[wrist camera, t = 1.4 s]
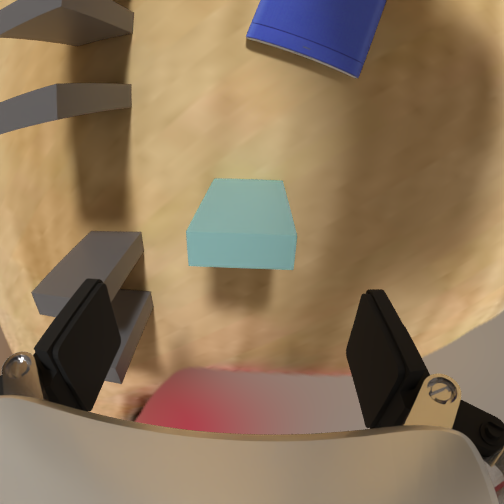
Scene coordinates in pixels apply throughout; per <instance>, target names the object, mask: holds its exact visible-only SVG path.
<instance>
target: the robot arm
mask: <svg viewBox="0 0 504 504" xmlns="http://www.w3.org/2000/svg"><path fill="white" fill-rule="evenodd" d="M120 345H121V336H120V333H119V330H118V326H117V323H116V319H115V316H114V312H113V308H112V305H111V301H110V297H109V293H108V289H107V286H106V284H104V283H103V282H102V280H100V279H90V278H88V279H86V280H85V281H84V282H83V283H82V284H81V286H80V287H79V288H78V289H77V291H76V292H75V293H74V295H73V296H72V297H71V298H70V300H69V301H68V302H67V303H66V305H65V306H64V307H63V309H62V310H61V311H60V313H59V314H58V315H57V317H56V318H55V319H54V321H53V322H52V323H51V325H50V326H49V328H48V329H47V330H46V332H45V333H44V335H43V336H42V337H41V339H40V340H39V342H38V343H37V344H36V346H35V347H34V350H35V354H34V355H32V354H31V353H28V352H18V353H15V354H13V355H11V356H10V357H9V358H7V360H6V361H5V362H4V364H3V366H2V375H1V376H0V504H504V423H503V422H502V421H501V420H500V419H498V418H497V417H495V416H493V415H491V414H489V413H486V412H485V411H483V410H481V409H479V408H477V407H475V406H473V405H471V404H469V403H467V402H464V401H463V400H461V390H460V387H459V385H458V384H457V382H456V381H455V380H453V379H452V378H451V377H449V376H447V375H443V374H433V375H430V374H429V372H428V370H427V368H426V366H425V364H424V362H423V360H422V358H421V356H420V354H419V352H418V350H417V348H416V346H415V344H414V342H413V340H412V339H411V337H410V335H409V333H408V331H407V329H406V327H405V326H404V325H403V324H402V322H401V320H400V318H399V316H398V314H397V313H396V311H395V309H394V307H393V306H392V304H391V302H390V300H389V299H388V297H387V295H386V293H385V292H384V290H367V292H366V294H362V296H361V299H360V303H359V306H358V310H357V314H356V317H355V321H354V325H353V328H352V331H351V335H350V338H349V342H348V345H347V349H346V356H347V360H348V363H349V367H350V370H351V374H352V377H353V381H354V384H355V388H356V392H357V395H358V399H359V403H360V406H361V410H362V414H363V418H364V422H365V425H366V427H367V428H370V429H365V430H355V431H345V432H332V433H316V434H291V435H257V434H256V435H255V434H231V433H215V432H204V431H193V430H184V429H176V428H169V427H162V426H155V425H149V424H142V423H137V422H132V421H127V420H122V419H117V418H112V417H108V416H103V415H99V414H95V413H91V412H88V411H91V410H92V408H93V406H94V404H95V401H96V399H97V397H98V394H99V392H100V390H101V387H102V385H103V383H104V380H105V378H106V376H107V374H108V371H109V369H110V367H111V365H112V363H113V360H114V358H115V356H116V354H117V352H118V350H119V348H120Z"/></svg>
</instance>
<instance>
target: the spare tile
mask: <svg viewBox="0 0 504 504" xmlns="http://www.w3.org/2000/svg"><path fill="white" fill-rule="evenodd" d="M186 237H187V250H188V263H189V266H203V267H227V268H253V269H282V270H293V269H294V260H295V251H296V242H297V233H296V229H295V225H294V221H293V218H292V214H291V210H290V206H289V202H288V199H287V195H286V191H285V188H284V184H283V181H278V180H254V179H214V180H213V182H212V184H211V186H210V188H209V189H208V191H207V193H206V195H205V197H204V199H203V200H202V202H201V204H200V206H199V208H198V210H197V212H196V214H195V216H194V217H193V219H192V221H191V223H190V225H189V227H188V229H187V231H186Z"/></svg>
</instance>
